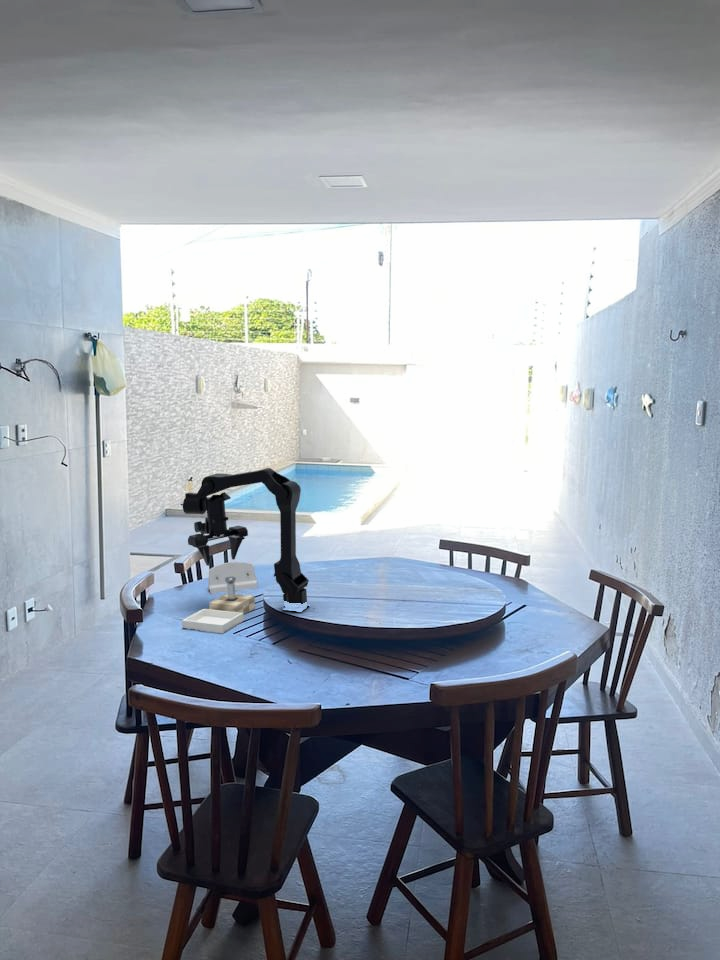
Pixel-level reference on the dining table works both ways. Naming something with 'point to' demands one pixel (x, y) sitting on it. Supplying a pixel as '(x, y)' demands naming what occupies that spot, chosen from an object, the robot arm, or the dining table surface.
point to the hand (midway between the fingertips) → (220, 562)
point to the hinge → (232, 569)
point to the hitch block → (233, 604)
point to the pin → (231, 588)
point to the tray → (213, 620)
